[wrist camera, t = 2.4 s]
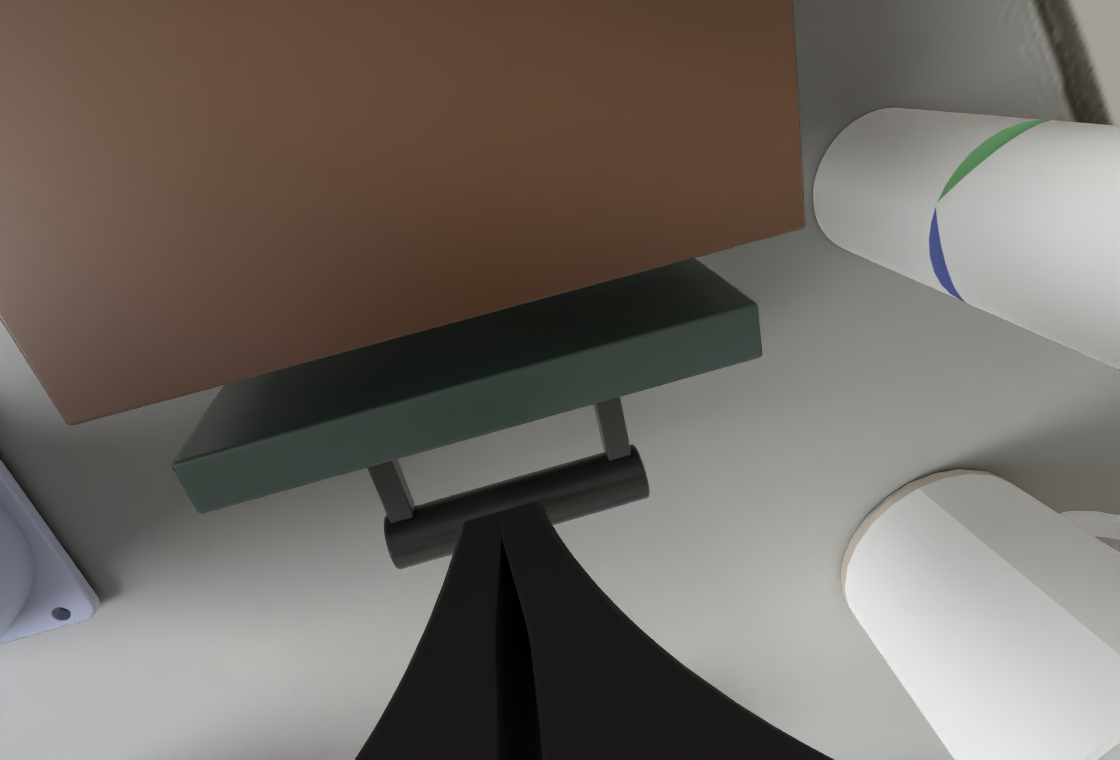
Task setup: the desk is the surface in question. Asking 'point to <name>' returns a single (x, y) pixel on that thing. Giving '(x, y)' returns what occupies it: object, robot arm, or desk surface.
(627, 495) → the drawer
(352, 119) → the cabinet
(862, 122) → the tube
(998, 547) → the mug
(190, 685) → the desk surface
